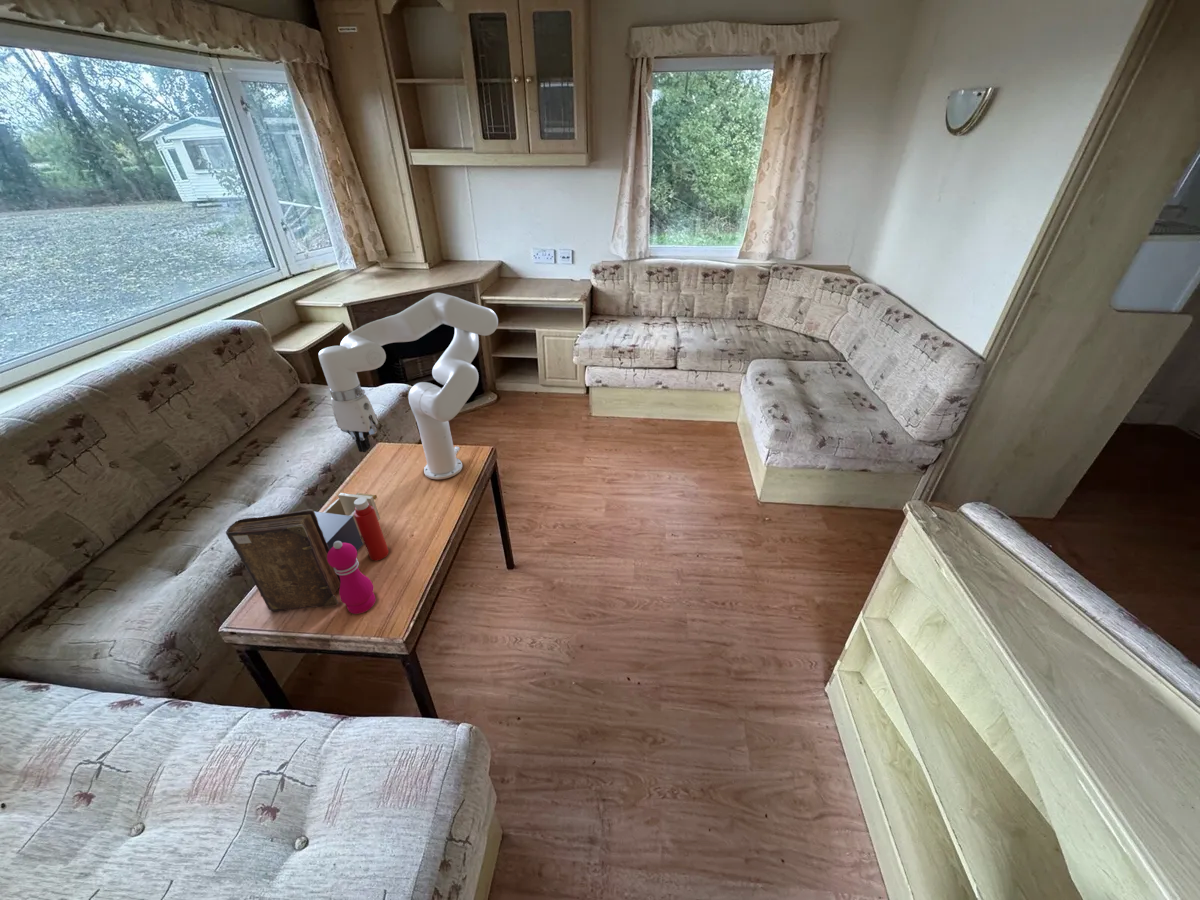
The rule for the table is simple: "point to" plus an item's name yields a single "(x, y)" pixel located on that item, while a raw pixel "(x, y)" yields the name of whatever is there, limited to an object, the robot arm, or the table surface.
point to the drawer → (350, 505)
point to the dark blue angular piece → (339, 529)
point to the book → (287, 559)
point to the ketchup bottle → (370, 529)
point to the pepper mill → (351, 578)
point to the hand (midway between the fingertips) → (365, 449)
